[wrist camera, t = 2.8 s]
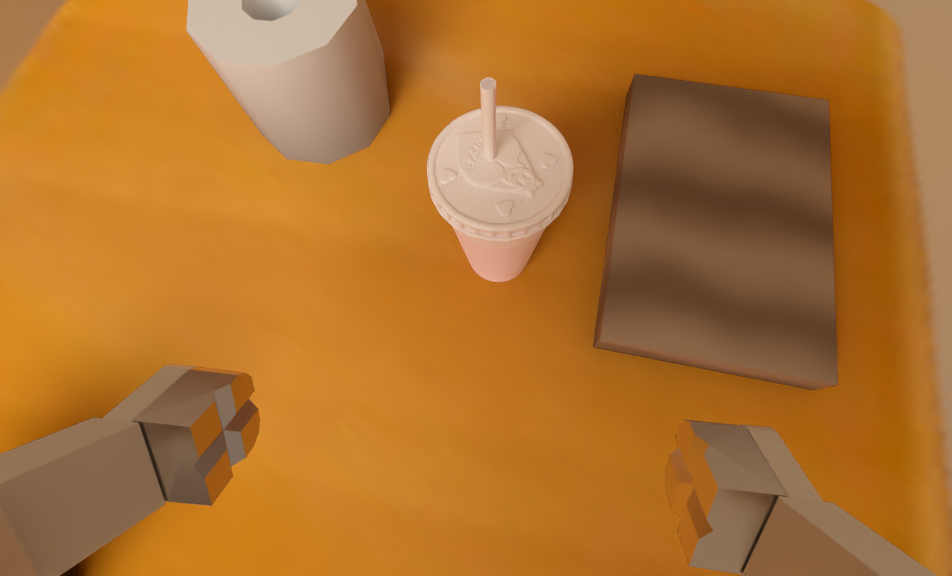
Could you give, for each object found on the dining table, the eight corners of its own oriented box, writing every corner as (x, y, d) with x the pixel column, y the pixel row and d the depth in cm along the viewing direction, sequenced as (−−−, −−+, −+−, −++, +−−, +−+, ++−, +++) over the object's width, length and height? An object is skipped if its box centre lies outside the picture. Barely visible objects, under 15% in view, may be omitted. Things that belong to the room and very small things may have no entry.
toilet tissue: (378, 8, 37) (345, -118, 29) (395, 154, 32) (361, 53, 24) (261, 26, 37) (194, -96, 29) (261, 174, 32) (183, 80, 24)
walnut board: (813, 390, 26) (838, 384, 24) (592, 347, 27) (600, 339, 26) (809, 121, 32) (828, 100, 30) (626, 95, 33) (634, 74, 31)
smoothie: (490, 190, 31) (486, -6, 18) (571, 246, 30) (633, 78, 16) (425, 261, 30) (369, 105, 16) (507, 324, 28) (517, 209, 15)
